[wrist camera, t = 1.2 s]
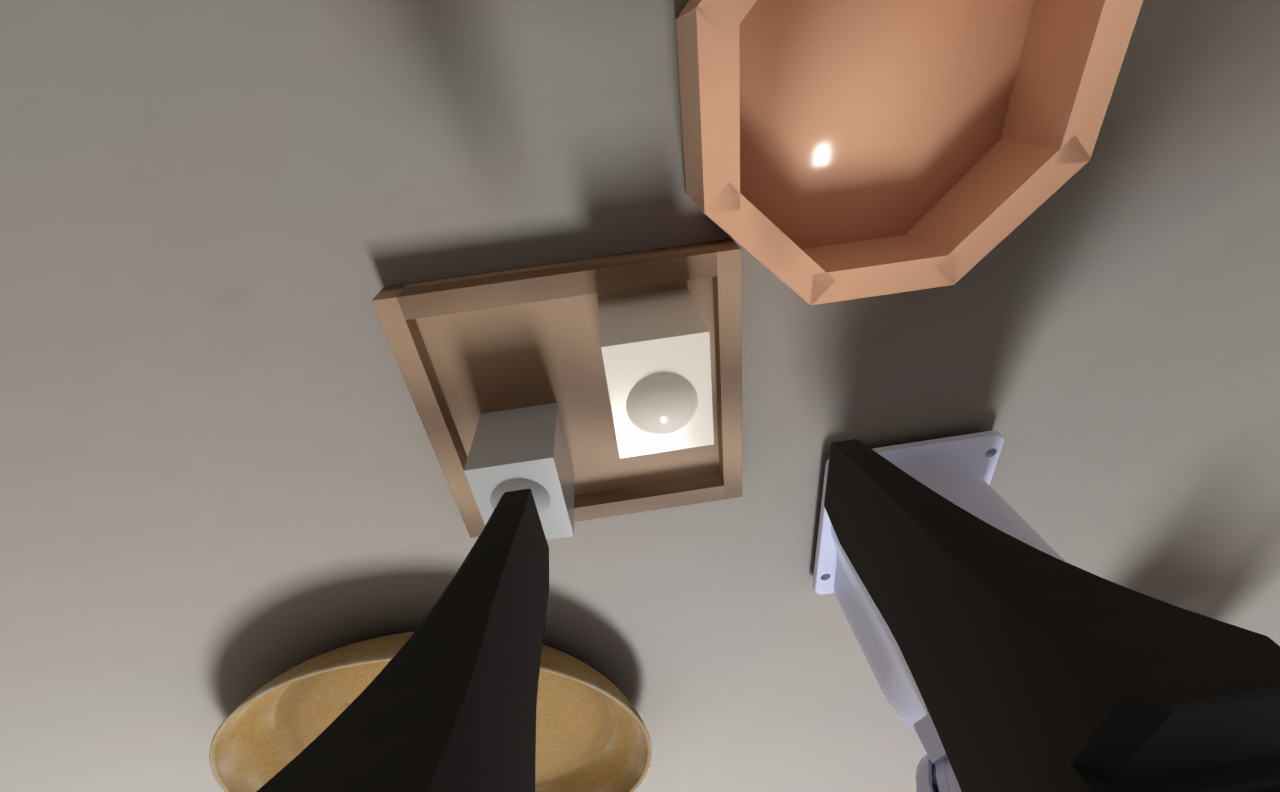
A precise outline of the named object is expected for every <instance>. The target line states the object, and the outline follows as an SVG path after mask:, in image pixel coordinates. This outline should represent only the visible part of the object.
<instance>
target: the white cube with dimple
mask: <svg viewBox="0 0 1280 792" xmlns="http://www.w3.org/2000/svg"><path fill="white" fill-rule="evenodd" d="M464 472H465V475H466V478H467V480H468V483H469V485H470V488H471V490H472V493H473V496H474V498H475V501H476V503H477V506H478V508H479V511H480V514H481V516H482V519H483V521H484V524H485V525H486V524H487V522H488V520H489V518H490V517H491V515H492V513H493V511H494V509H495V507H496V506H497V504H498V502H499V500H500V498H501V496H502V495H503V494H504V493H505V492H510V491H516V490H523V489H529V488H531V491H532V495H533V498H534V501H535V504H536V508H537V511H538V514H539V517H540V521H541V524H542V527H543V531H544V534H545V537H546V540H550V539H556V538H563V537H570V536H574V486H575V475H574V471H573V467H572V463H571V458H570V454H569V450H568V446H567V441H566V437H565V433H564V429H563V425H562V420H561V416H560V412H559V408H558V404H557V403H552V404H545V405H538V406H531V407H524V408H517V409H511V410H504V411H497V412H490V413H483V414H481V415H480V418H479V421H478V425H477V428H476V432H475V435H474V438H473V442H472V445H471V448H470V452H469V455H468V458H467V462H466V465H465V469H464Z"/></svg>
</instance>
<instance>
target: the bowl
mask: <svg viewBox="0 0 1280 792" xmlns="http://www.w3.org/2000/svg"><path fill="white" fill-rule="evenodd" d="M1142 3H1143V0H689V1H688V2H687V4H686V5H685V7H684V8H683V10H682V11H681V13H680V14H679V16H678V17H677V19H676V20H675V21H676V33H677V50H678V67H679V84H680V101H681V118H682V135H683V152H684V169H685V186H686V194H687V195H688V196H689V197H690V198H691V199H692V200H693V202H694V203H695V204H696V205H697V206H698V207H699V208H700V209H701V211H702V212H703V213H704V214H706V215H707V216H708V217H709V218H710V219H711V220H713V221H714V222H715V223H716V224H717V225H718V226H720V227H721V228H722V229H723V230H724V231H725V232H726V233H728V234H729V235H730V236H731V237H732V238H733V239H735V240H736V241H737V242H738V243H739V244H740V245H741V246H743V247H744V248H745V249H746V250H747V251H748V252H750V253H751V254H752V255H753V256H754V257H755V258H756V259H758V260H759V261H760V262H761V263H762V264H763V265H765V266H766V267H767V268H768V269H769V270H770V271H771V272H773V273H774V274H775V275H776V276H777V277H778V278H780V279H781V280H782V281H783V282H784V283H785V284H786V285H788V286H789V287H790V288H791V289H792V290H793V291H795V292H796V293H797V294H798V295H799V296H800V297H801V298H803V299H804V300H805V301H806V302H807V303H808V304H809V305H811V306H812V305H817V304H824V303H831V302H838V301H845V300H852V299H859V298H866V297H873V296H880V295H887V294H894V293H901V292H908V291H915V290H922V289H929V288H936V287H943V286H950V285H954V284H955V283H956V282H957V281H959V280H960V279H961V278H962V277H963V276H964V275H965V274H966V273H967V272H968V271H969V270H971V269H972V268H973V267H974V266H975V265H976V264H977V263H978V262H979V261H980V260H982V259H983V258H984V257H985V256H986V255H987V254H988V253H989V252H990V251H991V250H992V249H994V248H995V247H996V246H997V245H998V244H999V243H1000V242H1001V241H1002V240H1003V239H1004V238H1006V237H1007V236H1008V235H1009V234H1010V233H1011V232H1012V231H1013V230H1014V229H1015V228H1016V227H1018V226H1019V225H1020V224H1021V223H1022V222H1023V221H1024V220H1025V219H1026V218H1027V217H1028V216H1030V215H1031V214H1032V213H1033V212H1034V211H1035V210H1036V209H1037V208H1038V207H1039V206H1040V205H1042V204H1043V203H1044V202H1045V201H1046V200H1047V199H1048V198H1049V197H1050V196H1051V195H1053V194H1054V193H1055V192H1056V191H1057V190H1058V189H1059V188H1060V187H1061V186H1062V185H1063V184H1065V183H1066V182H1067V181H1068V180H1069V179H1070V178H1071V177H1072V176H1073V175H1074V174H1075V173H1077V172H1078V171H1079V170H1080V169H1081V168H1082V167H1083V166H1084V165H1085V164H1086V163H1087V162H1089V161H1090V160H1091V156H1092V153H1093V150H1094V147H1095V144H1096V141H1097V138H1098V135H1099V132H1100V129H1101V126H1102V123H1103V120H1104V117H1105V114H1106V111H1107V108H1108V105H1109V102H1110V99H1111V96H1112V93H1113V90H1114V87H1115V84H1116V81H1117V78H1118V75H1119V72H1120V69H1121V66H1122V63H1123V60H1124V57H1125V54H1126V51H1127V48H1128V45H1129V42H1130V39H1131V36H1132V33H1133V30H1134V27H1135V24H1136V21H1137V18H1138V15H1139V12H1140V9H1141V6H1142Z"/></svg>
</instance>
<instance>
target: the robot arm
mask: <svg viewBox="0 0 1280 792" xmlns="http://www.w3.org/2000/svg"><path fill="white" fill-rule="evenodd" d="M1003 443H1004V437H1003V436H1002V435H1001V434H1000V433H999V432H997V431H986V432H979V433H973V434H966V435H959V436H953V437H946V438H939V439H933V440H926V441H919V442H913V443H906V444H899V445H893V446H886V447H879V448H873V449H871V448H869V447H868V446H866V445H865V444H863V443H862V442H860V441H859V440H857V439H853V440H847V441H840V442H833V443H831V448H830V457H829V459H828V460H827V462H826V467H825V476H824V485H823V494H822V503H821V512H820V521H819V530H818V539H817V548H816V557H815V566H814V575H813V584H812V585H813V589H814V591H815V592H816V593H817V594H820V595H822V594H830V593H834V594H835V596H836V598H837V600H838V602H839V604H840V606H841V608H842V610H843V612H844V614H845V616H846V618H847V620H848V622H849V624H850V626H851V628H852V630H853V632H854V634H855V637H856V639H857V641H858V643H859V645H860V647H861V649H862V651H863V653H864V655H865V657H866V659H867V661H868V663H869V665H870V667H871V669H872V671H873V673H874V675H875V678H876V680H877V682H878V684H879V686H880V688H881V690H882V692H883V694H884V695H885V697H886V699H887V700H888V702H889V704H890V705H891V706H892V708H893V709H894V710H895V711H896V713H897V714H898V715H899V716H900V717H901V718H902V719H903V720H904V721H905V722H906V723H907V724H908V725H910V726H911V727H912V728H913V729H914V730H915V731H916V733H917V735H918V737H919V739H920V740H921V742H922V744H923V746H924V748H925V750H926V752H927V755H926V756H925V757H923V758H922V759H921V760H920V762H919V764H918V766H917V772H916V788H917V792H1280V646H1279V645H1277V644H1276V643H1275V642H1274V641H1272V640H1271V639H1270V638H1268V637H1267V636H1264V635H1261V634H1258V633H1255V632H1252V631H1249V630H1246V629H1243V628H1240V627H1237V626H1234V625H1231V624H1228V623H1225V622H1221V621H1218V620H1215V619H1212V618H1209V617H1206V616H1203V615H1200V614H1197V613H1194V612H1191V611H1188V610H1185V609H1182V608H1179V607H1176V606H1173V605H1171V604H1168V603H1165V602H1163V601H1160V600H1157V599H1155V598H1152V597H1149V596H1147V595H1144V594H1141V593H1139V592H1136V591H1133V590H1131V589H1128V588H1126V587H1123V586H1121V585H1118V584H1116V583H1113V582H1111V581H1108V580H1106V579H1103V578H1101V577H1098V576H1096V575H1094V574H1091V573H1089V572H1087V571H1085V570H1082V569H1080V568H1078V567H1076V566H1073V565H1071V564H1069V563H1066V562H1065V561H1064V560H1063V559H1062V558H1061V557H1060V556H1059V555H1058V554H1057V553H1056V552H1055V551H1054V550H1053V549H1052V548H1051V547H1050V546H1049V545H1048V544H1047V543H1046V542H1045V541H1044V540H1043V539H1042V538H1041V537H1040V536H1039V535H1038V534H1037V533H1036V532H1035V531H1034V530H1033V529H1032V528H1031V527H1030V526H1029V525H1028V524H1027V523H1026V522H1025V521H1024V520H1023V519H1022V517H1021V516H1020V515H1019V514H1018V513H1017V512H1016V511H1015V510H1014V509H1013V508H1012V507H1011V506H1010V505H1009V504H1008V503H1007V502H1006V501H1005V500H1004V499H1003V498H1002V497H1001V496H1000V495H999V494H998V493H997V492H996V491H995V490H994V489H993V488H992V487H991V486H990V485H989V484H990V481H991V478H992V475H993V472H994V470H995V467H996V464H997V461H998V458H999V455H1000V452H1001V449H1002V446H1003ZM548 592H549V547H548V544H547V540H546V537H545V534H544V531H543V527H542V524H541V521H540V517H539V514H538V511H537V508H536V504H535V501H534V498H533V495H532V491H531V488H529V489H523V490H516V491H510V492H505V493H504V494H503V495H502V496H501V498H500V500H499V502H498V504H497V506H496V507H495V509H494V511H493V513H492V515H491V517H490V518H489V520H488V522H487V524H486V525H485V527H484V529H483V531H482V532H481V534H480V536H479V538H478V539H477V541H476V543H475V544H474V546H473V548H472V549H471V551H470V552H469V554H468V556H467V557H466V559H465V561H464V562H463V564H462V565H461V567H460V569H459V570H458V572H457V573H456V575H455V576H454V578H453V579H452V581H451V582H450V583H449V585H448V586H447V588H446V589H445V591H444V592H443V594H442V595H441V597H440V598H439V600H438V601H437V602H436V604H435V605H434V607H433V608H432V609H431V611H430V612H429V613H428V615H427V616H426V617H425V619H424V620H423V621H422V623H421V624H420V625H419V627H418V628H417V629H416V630H415V632H414V633H413V634H412V635H411V637H410V638H409V639H408V640H407V642H406V643H405V644H404V645H403V646H402V648H401V649H400V650H399V651H398V652H397V653H396V655H395V656H394V657H393V658H392V659H391V660H390V662H389V663H388V664H387V665H386V666H385V667H384V668H383V670H382V671H381V672H380V673H379V674H378V675H377V676H376V678H375V679H374V680H373V681H372V682H371V683H370V684H369V685H368V686H367V687H366V688H365V690H364V691H363V692H362V693H361V694H360V695H359V696H358V697H357V698H356V699H355V700H354V701H353V702H352V703H351V704H350V705H349V706H348V707H347V708H346V709H345V710H344V711H343V712H342V713H341V714H340V715H339V716H338V717H337V718H336V719H335V720H334V721H333V722H332V723H331V724H330V725H329V726H328V727H327V728H326V729H325V730H324V731H323V732H322V733H321V734H320V735H319V736H318V737H317V738H316V739H315V740H314V741H313V742H311V743H310V744H309V745H308V746H307V747H306V748H305V749H304V750H303V751H302V752H301V753H300V754H298V755H297V756H296V757H295V758H294V759H293V760H292V761H291V762H289V763H288V764H287V765H286V766H285V767H284V768H283V769H282V770H280V771H279V772H278V773H277V774H276V775H275V776H274V777H272V778H271V779H270V780H269V781H268V782H267V783H266V784H265V785H263V786H262V787H261V788H260V789H259V790H258V791H257V792H535V759H536V708H537V693H538V681H539V672H540V663H541V655H542V646H543V637H544V629H545V620H546V611H547V602H548Z"/></svg>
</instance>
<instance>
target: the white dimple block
mask: <svg viewBox="0 0 1280 792" xmlns="http://www.w3.org/2000/svg"><path fill="white" fill-rule="evenodd" d="M598 313H599V326H600V340H601V350H602V356H603V362H604V368H605V374H606V379H607V385H608V391H609V397H610V403H611V409H612V415H613V421H614V426H615V432H616V438H617V444H618V450H619V456H620V458H626V457H633V456H640V455H646V454H653V453H660V452H667V451H673V450H680V449H687V448H693V447H700V446H707V445H713V444H714V432H713V407H712V383H711V359H710V335H709V330H708V328H707V326H706V324H705V322H704V320H703V318H702V316H701V314H700V312H699V310H698V308H697V306H696V304H695V302H694V300H693V298H692V296H691V294H690V292H689V290H688V289H681V290H674V291H666V292H659V293H652V294H645V295H638V296H631V297H624V298H617V299H610V300H603V301H598Z"/></svg>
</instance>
